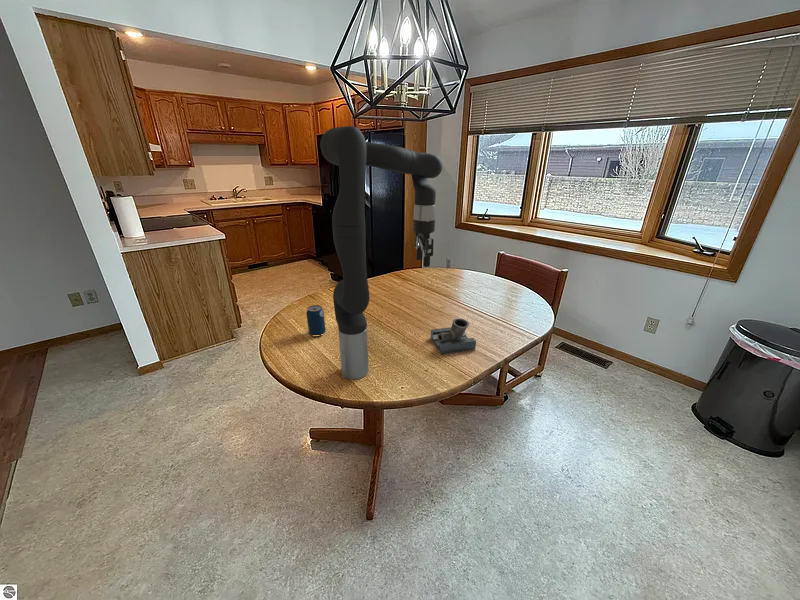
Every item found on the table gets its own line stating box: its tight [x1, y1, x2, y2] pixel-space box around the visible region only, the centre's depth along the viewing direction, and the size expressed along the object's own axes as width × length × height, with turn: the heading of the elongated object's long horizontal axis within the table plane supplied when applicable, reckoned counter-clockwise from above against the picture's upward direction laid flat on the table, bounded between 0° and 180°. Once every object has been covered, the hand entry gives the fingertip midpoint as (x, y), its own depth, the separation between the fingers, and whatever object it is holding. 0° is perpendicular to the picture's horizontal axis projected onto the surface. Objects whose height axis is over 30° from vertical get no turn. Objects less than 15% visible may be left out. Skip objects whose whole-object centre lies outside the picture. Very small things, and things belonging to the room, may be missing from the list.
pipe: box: [438, 317, 470, 342], centre depth 126 cm, size 6×13×8 cm, turn 123°
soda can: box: [306, 304, 327, 336], centre depth 134 cm, size 7×7×12 cm
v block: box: [430, 326, 477, 355], centre depth 129 cm, size 14×12×4 cm
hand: (422, 263), depth 118 cm, fingers open, 8 cm apart
